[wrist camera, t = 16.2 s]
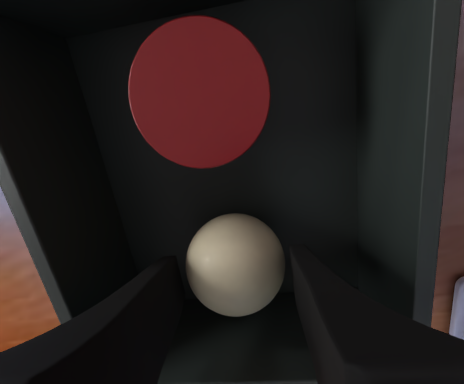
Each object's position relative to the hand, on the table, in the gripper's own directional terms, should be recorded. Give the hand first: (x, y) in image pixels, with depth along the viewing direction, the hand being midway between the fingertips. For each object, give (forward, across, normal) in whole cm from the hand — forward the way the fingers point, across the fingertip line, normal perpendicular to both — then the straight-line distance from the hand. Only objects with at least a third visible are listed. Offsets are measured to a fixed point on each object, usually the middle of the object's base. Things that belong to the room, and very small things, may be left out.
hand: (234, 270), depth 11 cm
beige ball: (0, 0, 0) cm, 0 cm away
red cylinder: (+3, 0, -7) cm, 8 cm away
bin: (+3, 0, -4) cm, 5 cm away
